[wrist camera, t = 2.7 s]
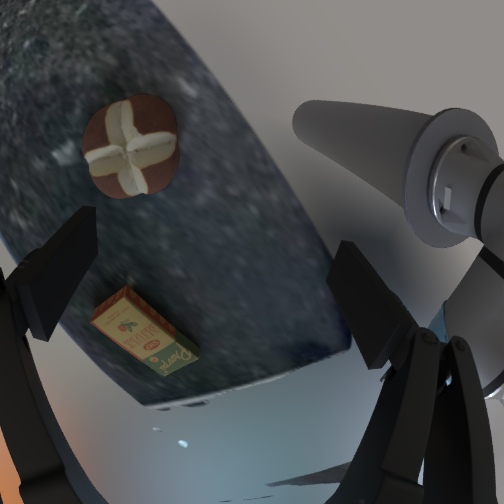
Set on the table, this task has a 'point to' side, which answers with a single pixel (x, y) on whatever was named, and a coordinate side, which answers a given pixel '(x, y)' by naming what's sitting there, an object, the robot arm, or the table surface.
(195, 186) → the table surface
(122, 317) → the carton
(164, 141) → the bread
